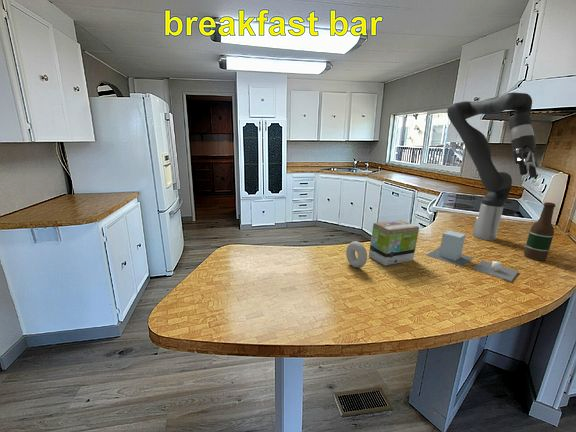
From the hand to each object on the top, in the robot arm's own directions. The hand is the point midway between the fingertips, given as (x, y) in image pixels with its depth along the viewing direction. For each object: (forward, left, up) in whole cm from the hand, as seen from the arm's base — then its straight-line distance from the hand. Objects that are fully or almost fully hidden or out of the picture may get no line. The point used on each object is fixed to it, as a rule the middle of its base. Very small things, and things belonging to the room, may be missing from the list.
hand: (528, 176), depth 115 cm
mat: (-1, -29, -34) cm, 45 cm away
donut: (+2, -73, -35) cm, 81 cm away
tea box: (-3, -55, -35) cm, 65 cm away
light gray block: (-1, -29, -34) cm, 45 cm away
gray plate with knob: (+13, -21, -34) cm, 42 cm away
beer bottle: (+4, +9, -35) cm, 36 cm away
